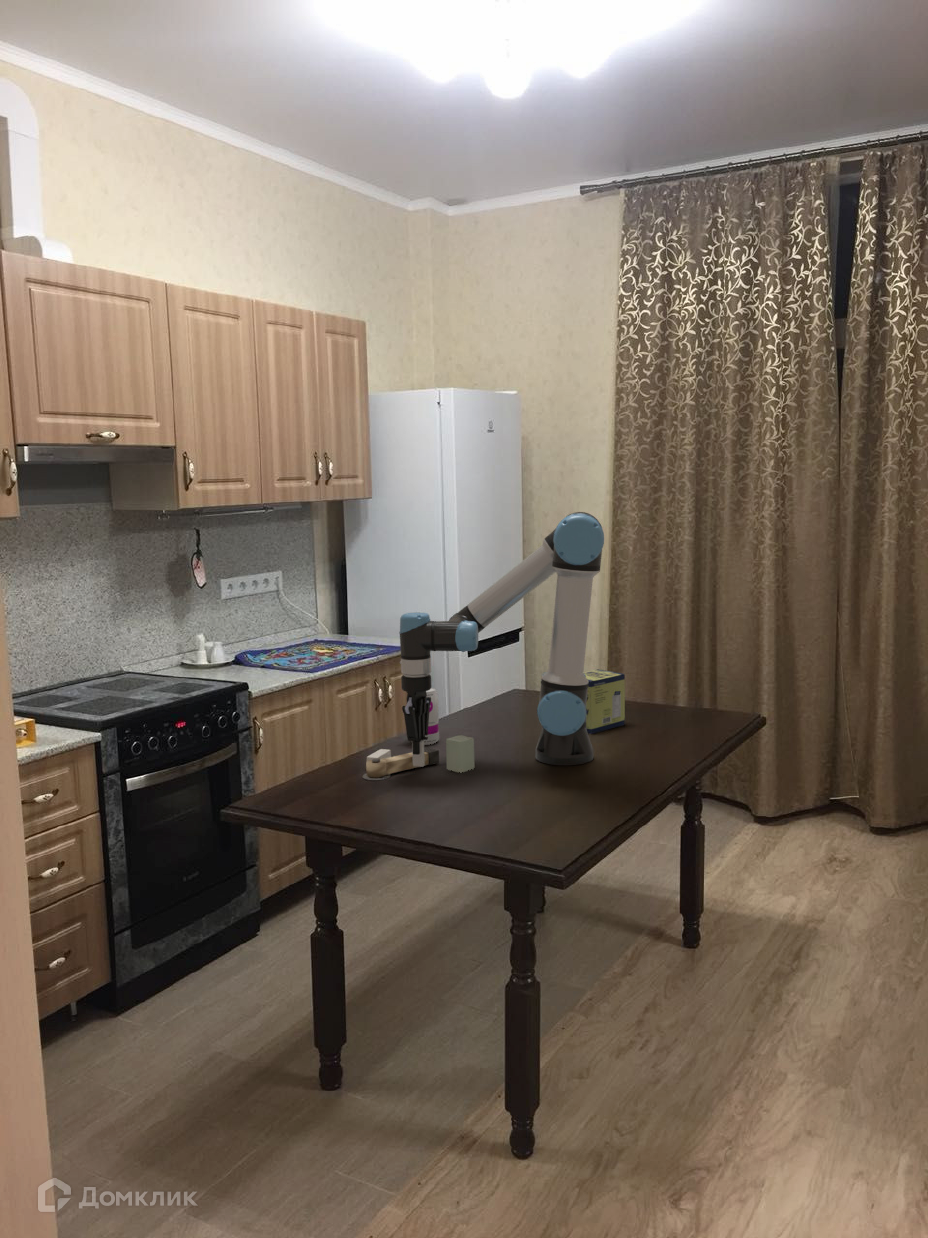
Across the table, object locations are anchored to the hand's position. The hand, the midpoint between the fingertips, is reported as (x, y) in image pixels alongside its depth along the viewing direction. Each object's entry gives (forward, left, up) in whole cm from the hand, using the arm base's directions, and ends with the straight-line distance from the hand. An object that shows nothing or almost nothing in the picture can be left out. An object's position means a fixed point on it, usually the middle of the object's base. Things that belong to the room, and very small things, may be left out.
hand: (418, 765), depth 265 cm
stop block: (+12, -1, -1) cm, 12 cm away
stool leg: (+4, +1, -1) cm, 4 cm away
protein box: (-31, -57, -2) cm, 65 cm away
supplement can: (+10, -26, -2) cm, 28 cm away
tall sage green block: (-9, -5, -1) cm, 11 cm away
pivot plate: (+8, +8, -1) cm, 11 cm away
